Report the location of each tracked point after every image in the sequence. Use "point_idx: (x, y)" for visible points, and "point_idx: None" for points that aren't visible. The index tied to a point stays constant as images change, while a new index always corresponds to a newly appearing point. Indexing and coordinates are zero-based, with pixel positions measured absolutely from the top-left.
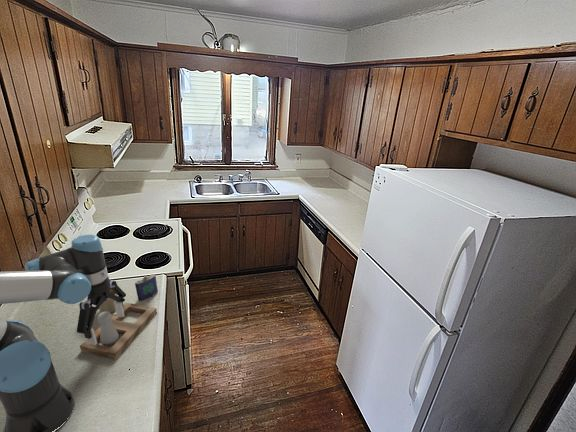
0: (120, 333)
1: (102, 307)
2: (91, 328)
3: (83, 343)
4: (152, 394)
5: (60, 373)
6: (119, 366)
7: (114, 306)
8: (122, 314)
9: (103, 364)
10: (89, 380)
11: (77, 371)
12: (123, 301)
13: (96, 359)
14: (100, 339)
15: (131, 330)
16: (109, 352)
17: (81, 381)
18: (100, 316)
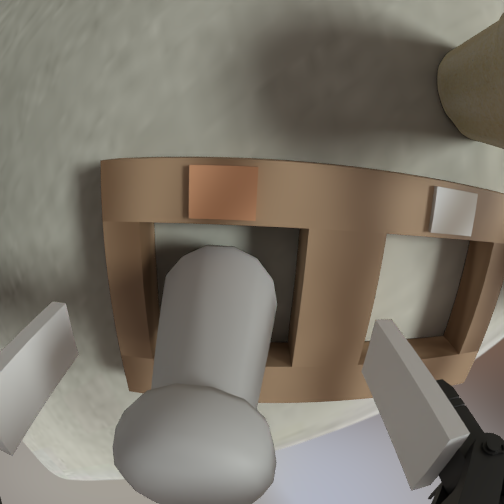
0: (294, 304)
1: (470, 81)
2: (1, 445)
3: (123, 169)
4: (100, 477)
5: (8, 178)
6: (117, 393)
7: (492, 144)
8: (371, 389)
9: (96, 332)
10: None
11: (32, 245)
12: (430, 498)
13: (103, 284)
14: (173, 272)
15: (299, 384)
16: (124, 364)
17: (17, 297)
18: (138, 480)
